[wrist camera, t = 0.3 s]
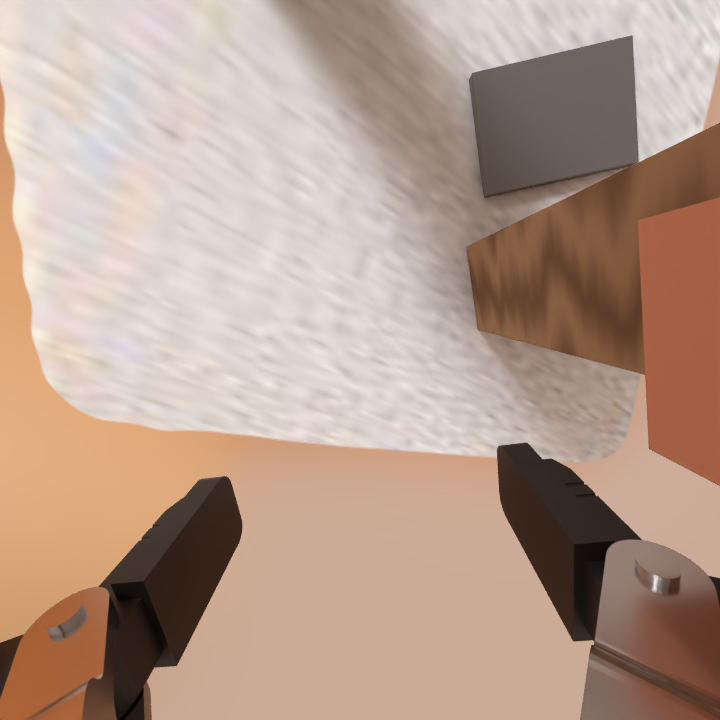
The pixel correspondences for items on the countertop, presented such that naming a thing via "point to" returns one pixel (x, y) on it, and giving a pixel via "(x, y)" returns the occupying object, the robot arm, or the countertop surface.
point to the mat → (556, 117)
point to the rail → (683, 334)
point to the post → (588, 258)
